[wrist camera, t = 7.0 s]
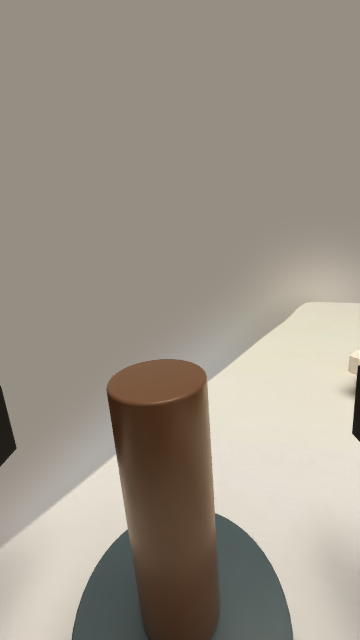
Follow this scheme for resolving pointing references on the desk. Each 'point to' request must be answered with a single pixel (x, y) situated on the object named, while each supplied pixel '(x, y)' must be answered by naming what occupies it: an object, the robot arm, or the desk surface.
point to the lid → (175, 527)
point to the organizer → (354, 361)
